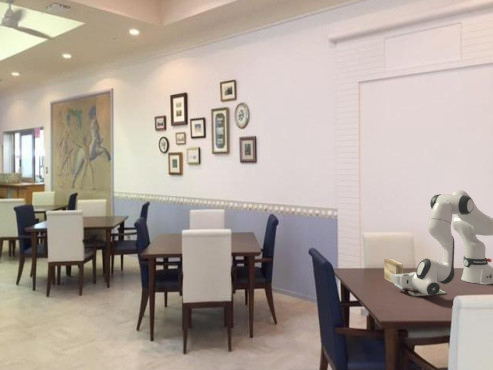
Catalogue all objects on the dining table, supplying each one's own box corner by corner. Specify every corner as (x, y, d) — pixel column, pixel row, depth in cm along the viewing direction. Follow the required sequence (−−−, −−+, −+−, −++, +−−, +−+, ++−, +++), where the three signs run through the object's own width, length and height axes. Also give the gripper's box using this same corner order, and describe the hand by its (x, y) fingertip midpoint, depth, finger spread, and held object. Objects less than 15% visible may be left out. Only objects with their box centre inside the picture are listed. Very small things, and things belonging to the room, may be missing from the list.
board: (391, 278, 258) (391, 258, 257) (403, 284, 244) (403, 264, 243) (384, 278, 257) (384, 259, 256) (395, 284, 243) (395, 264, 242)
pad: (428, 285, 241) (428, 284, 241) (446, 293, 225) (446, 292, 225) (414, 286, 240) (414, 285, 240) (430, 294, 224) (430, 293, 224)
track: (406, 284, 243) (406, 282, 243) (415, 288, 234) (415, 287, 234) (394, 285, 242) (394, 283, 242) (402, 289, 233) (402, 287, 233)
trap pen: (421, 292, 228) (421, 290, 228) (427, 295, 222) (427, 293, 222) (408, 292, 227) (408, 291, 227) (414, 296, 221) (414, 294, 221)
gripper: (433, 273, 228) (419, 267, 241) (399, 276, 224) (386, 269, 238) (433, 285, 228) (419, 278, 242) (399, 287, 225) (386, 280, 238)
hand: (402, 274), depth 240 cm, fingers open, 8 cm apart
